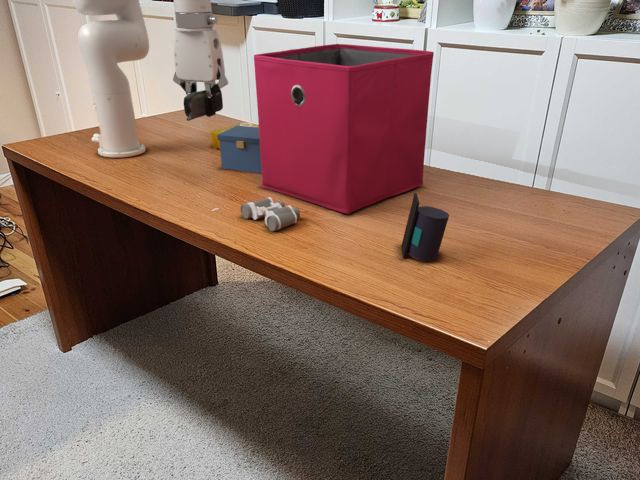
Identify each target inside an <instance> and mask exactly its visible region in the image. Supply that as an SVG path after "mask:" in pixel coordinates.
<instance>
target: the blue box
mask: <svg viewBox="0 0 640 480" xmlns="http://www.w3.org/2000/svg"><path fill="white" fill-rule="evenodd" d="M217 138H218V140H220V149H219V151H220V162H221V169H222V170H229V171H238V172H239V171H240V172H247V173H255V174H262V168H261V153H260V137H259V128H258V127H247V126H235V127H233V128H231V129H229V130H226V131H224V132H222V133H220V134H218V135H217Z"/></svg>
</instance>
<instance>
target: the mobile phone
mask: <svg viewBox="0 0 640 480" xmlns="http://www.w3.org/2000/svg"><path fill="white" fill-rule="evenodd" d="M206 97H207V95H206V90H205V89H204V90H199V91H198V90H197V92H193V93H190V94H188V95H186V96H184V98H183V110H184V114H185V116H186V117H187V118H186V121H187V122H189V121H192V120H196V119H197V118H202V117H205V116H206V108H205V98H206ZM215 100H216V113H217V112H220V111H222V110H223V108H224V103H223V102H224V100H223V94H222V90H221V89H220V90H219V92H218V93H217V95H216V96H215Z"/></svg>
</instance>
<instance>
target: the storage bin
mask: <svg viewBox="0 0 640 480" xmlns="http://www.w3.org/2000/svg"><path fill="white" fill-rule="evenodd" d="M434 56H435V53H434V51H431V50H430V51H429V50H422V49H421V50H420V49H413V48H411V49H410V48H397V47H396V48H395V47H386V46H385V47H384V46H383V47H382V46H371V45H361V44H360V45H358V44H348V43H331V44H324V45H323V44H322V45H315V46H307V47H300V48H292V49H286V50H279V51H272V52H263V53H257V54H253V62H254V63H253V64H254V66H253V67H254V80H255V92H256V94H255V95H256V106H257V119H258V121H257V122H258V125H259V137H260V153H261V168H262V173H261V188H262V189H264V190H265V189H266V190H271V191H275V192H278V193H281V194H284V195H287V196H290V197H293V198H297V199H300V200H302V201H306V202H309V203H313V204H315V205H319V206H321V207H323V208H326V209H330V210H333V211H336V212H339V213H342V214H345V215H349V214H351V213H354V212H356V211H358V210H360V209H362V208H366V207H368V206H371V205H373V204H376V203H377V202H381V201H383V200H385V199H388V198H391V197H393V196H397V195H400V194H402V193H405V192H408V191H410V190H412V189H415V188H418V187H421V186H423V185H424V166H425V155H426V152H425V151H426V141H427V130H428V129H427V128H428V117H429V105H430V94H431V82H432V73H433V62H434Z"/></svg>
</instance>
